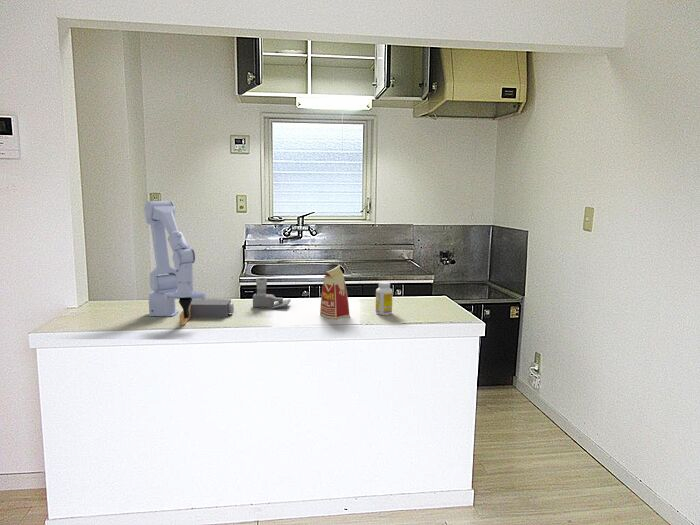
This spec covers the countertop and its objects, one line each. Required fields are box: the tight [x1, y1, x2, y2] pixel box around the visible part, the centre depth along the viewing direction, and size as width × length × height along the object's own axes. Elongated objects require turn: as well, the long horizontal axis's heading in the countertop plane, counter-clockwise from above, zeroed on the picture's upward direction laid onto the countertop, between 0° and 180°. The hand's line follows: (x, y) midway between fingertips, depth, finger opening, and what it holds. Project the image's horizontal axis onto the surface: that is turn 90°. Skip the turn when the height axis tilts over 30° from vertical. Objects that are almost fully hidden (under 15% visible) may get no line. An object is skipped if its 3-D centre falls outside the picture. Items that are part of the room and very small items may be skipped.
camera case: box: [190, 298, 235, 318], centre depth 209 cm, size 17×9×5 cm, turn 92°
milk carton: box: [319, 264, 351, 320], centre depth 208 cm, size 9×9×20 cm
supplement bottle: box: [375, 280, 393, 316], centre depth 214 cm, size 7×7×13 cm
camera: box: [252, 277, 291, 310], centre depth 221 cm, size 9×12×15 cm
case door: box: [179, 306, 192, 326], centre depth 198 cm, size 12×2×5 cm, turn 4°
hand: (186, 317), depth 195 cm, fingers closed, pressing on case door
